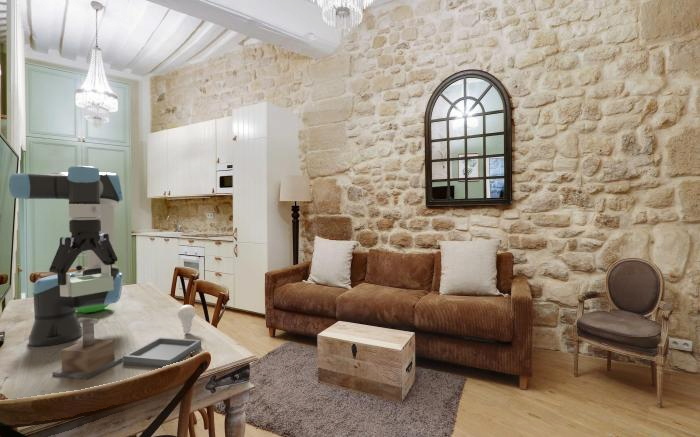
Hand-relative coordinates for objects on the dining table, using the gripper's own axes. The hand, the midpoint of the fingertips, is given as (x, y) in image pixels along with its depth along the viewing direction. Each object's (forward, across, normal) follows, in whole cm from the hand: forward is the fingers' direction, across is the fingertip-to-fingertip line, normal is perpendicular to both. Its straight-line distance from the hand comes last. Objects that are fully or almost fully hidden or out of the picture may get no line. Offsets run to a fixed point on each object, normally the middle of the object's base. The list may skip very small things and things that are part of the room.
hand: (87, 290), depth 106 cm
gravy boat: (+24, +48, +50) cm, 73 cm away
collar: (0, 0, 0) cm, 1 cm away
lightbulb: (+24, +31, -11) cm, 40 cm away
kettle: (+24, +70, +78) cm, 107 cm away
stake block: (+23, 0, 0) cm, 23 cm away
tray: (+23, +12, -16) cm, 31 cm away
